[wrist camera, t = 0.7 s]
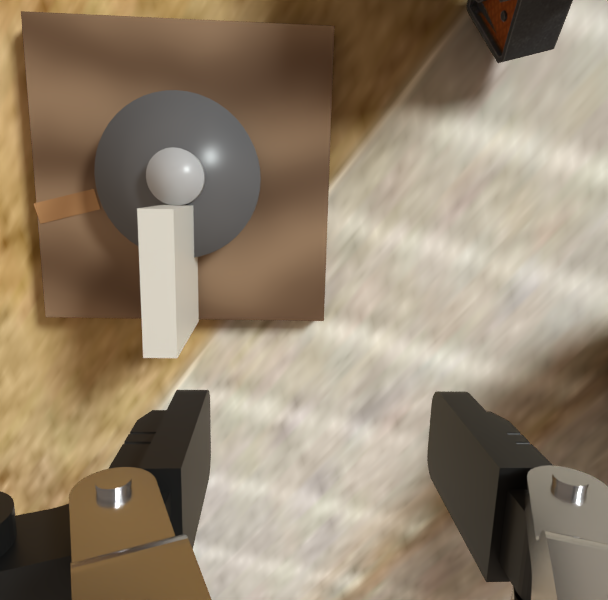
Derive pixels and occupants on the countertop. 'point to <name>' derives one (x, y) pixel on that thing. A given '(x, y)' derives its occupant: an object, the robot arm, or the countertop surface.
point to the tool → (519, 25)
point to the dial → (175, 200)
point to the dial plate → (209, 83)
